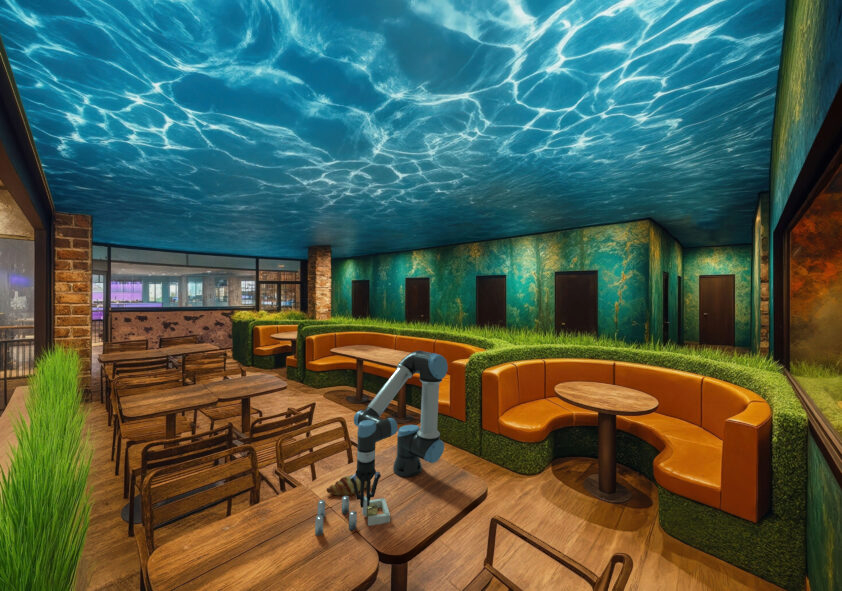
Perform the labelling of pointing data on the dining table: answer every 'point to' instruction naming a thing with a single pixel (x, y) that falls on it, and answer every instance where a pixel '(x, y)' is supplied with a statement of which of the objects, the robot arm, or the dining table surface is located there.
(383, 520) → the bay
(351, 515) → the spacers
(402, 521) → the dining table surface
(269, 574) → the dining table surface
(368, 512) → the gold round piece
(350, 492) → the croissant
